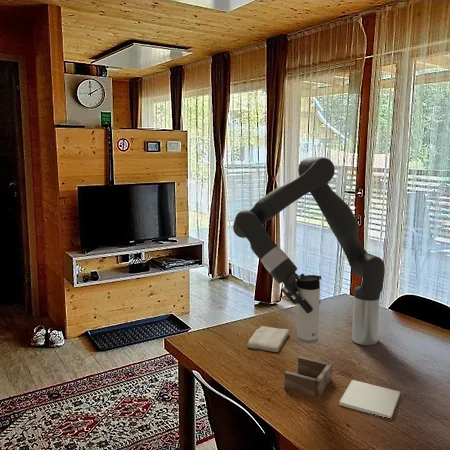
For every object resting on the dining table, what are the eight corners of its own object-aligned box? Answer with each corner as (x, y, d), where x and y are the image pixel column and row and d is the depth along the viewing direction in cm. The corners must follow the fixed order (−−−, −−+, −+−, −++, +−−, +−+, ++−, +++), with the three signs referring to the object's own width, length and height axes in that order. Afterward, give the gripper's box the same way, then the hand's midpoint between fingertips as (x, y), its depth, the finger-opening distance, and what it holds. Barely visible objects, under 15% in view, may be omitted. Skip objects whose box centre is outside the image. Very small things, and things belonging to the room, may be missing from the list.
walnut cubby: (299, 370, 148) (299, 356, 147) (331, 378, 143) (332, 364, 142) (284, 387, 138) (284, 372, 137) (318, 397, 132) (319, 381, 132)
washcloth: (289, 334, 177) (290, 327, 177) (278, 354, 161) (279, 346, 160) (260, 330, 181) (260, 323, 181) (246, 349, 165) (246, 341, 164)
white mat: (352, 382, 141) (352, 379, 140) (399, 394, 134) (400, 391, 133) (339, 404, 129) (339, 401, 128) (390, 419, 122) (391, 416, 121)
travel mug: (319, 344, 134) (321, 279, 131) (296, 342, 136) (298, 278, 132) (319, 335, 140) (321, 273, 137) (297, 334, 142) (299, 272, 138)
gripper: (277, 262, 131) (315, 308, 127) (295, 252, 143) (331, 294, 140) (260, 277, 135) (297, 323, 131) (279, 266, 147) (314, 307, 143)
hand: (314, 307), depth 135 cm, fingers closed on travel mug, 6 cm apart
